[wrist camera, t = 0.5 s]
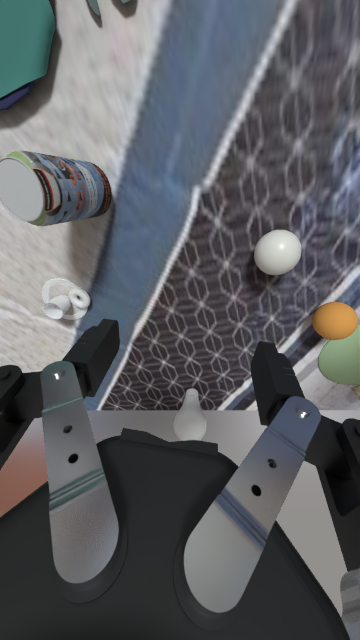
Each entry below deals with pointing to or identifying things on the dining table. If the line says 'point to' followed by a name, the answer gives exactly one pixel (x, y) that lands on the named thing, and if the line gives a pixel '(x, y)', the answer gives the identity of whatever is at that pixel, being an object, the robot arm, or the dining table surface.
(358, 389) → the stopper wall
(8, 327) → the dining table surface
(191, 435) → the lightbulb
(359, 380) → the green mark
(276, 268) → the white ball
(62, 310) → the teacup and saucer
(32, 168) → the beverage can
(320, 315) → the orange ball
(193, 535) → the robot arm
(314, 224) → the dining table surface
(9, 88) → the cutlery set
